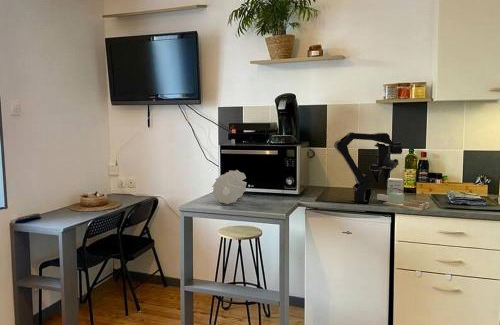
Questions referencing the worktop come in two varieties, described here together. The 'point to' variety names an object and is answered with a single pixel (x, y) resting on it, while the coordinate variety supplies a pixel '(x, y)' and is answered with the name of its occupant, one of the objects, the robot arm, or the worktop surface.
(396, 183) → the ink box
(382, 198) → the sage block
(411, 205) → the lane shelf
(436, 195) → the worktop surface
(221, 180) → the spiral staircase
